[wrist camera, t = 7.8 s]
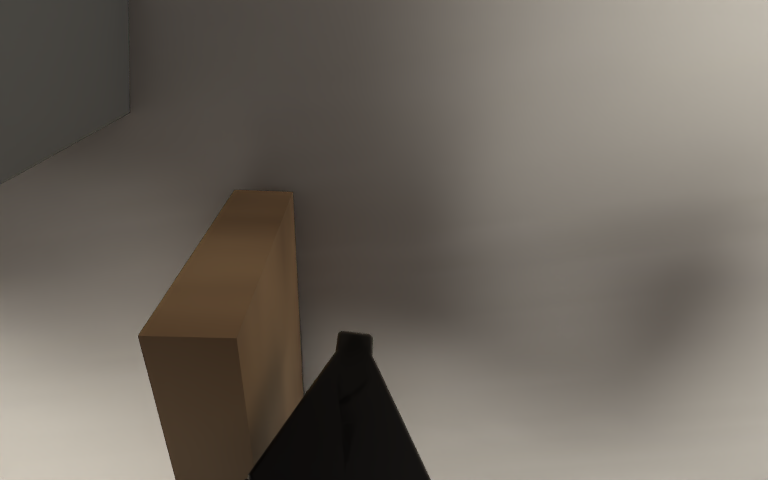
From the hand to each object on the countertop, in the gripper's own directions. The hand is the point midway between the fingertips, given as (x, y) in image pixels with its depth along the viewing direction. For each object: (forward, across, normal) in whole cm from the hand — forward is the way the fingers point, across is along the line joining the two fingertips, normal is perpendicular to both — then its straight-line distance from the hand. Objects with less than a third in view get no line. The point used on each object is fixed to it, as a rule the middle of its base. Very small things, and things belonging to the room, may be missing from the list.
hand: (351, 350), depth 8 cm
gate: (+2, +2, +3) cm, 4 cm away
